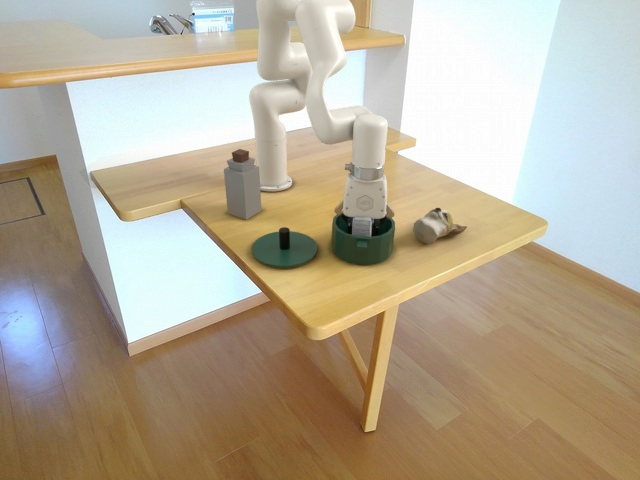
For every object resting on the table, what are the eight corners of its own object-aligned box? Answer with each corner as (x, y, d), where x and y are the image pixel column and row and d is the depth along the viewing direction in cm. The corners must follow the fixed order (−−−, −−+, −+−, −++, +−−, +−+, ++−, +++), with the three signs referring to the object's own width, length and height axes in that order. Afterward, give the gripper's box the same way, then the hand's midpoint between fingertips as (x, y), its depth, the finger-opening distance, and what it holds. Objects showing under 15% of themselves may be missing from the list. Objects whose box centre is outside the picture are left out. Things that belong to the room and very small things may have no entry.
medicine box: (369, 251, 116) (371, 220, 112) (350, 249, 117) (352, 218, 112) (372, 235, 123) (375, 205, 118) (355, 233, 124) (357, 203, 119)
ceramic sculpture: (405, 207, 121) (440, 193, 130) (400, 236, 125) (434, 222, 134) (439, 223, 114) (474, 208, 124) (433, 254, 119) (466, 237, 128)
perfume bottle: (246, 219, 133) (241, 158, 123) (227, 213, 136) (222, 153, 126) (261, 210, 137) (258, 150, 128) (243, 204, 141) (238, 145, 131)
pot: (327, 269, 113) (328, 241, 109) (335, 226, 130) (336, 201, 126) (392, 274, 111) (396, 246, 107) (391, 230, 129) (394, 205, 125)
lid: (244, 267, 113) (243, 244, 110) (260, 232, 127) (258, 212, 123) (313, 272, 111) (313, 250, 108) (320, 237, 125) (321, 216, 122)
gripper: (329, 174, 107) (327, 243, 117) (405, 179, 106) (397, 248, 115) (332, 162, 114) (329, 228, 123) (404, 166, 112) (396, 233, 122)
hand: (362, 237), depth 119 cm, fingers closed on medicine box, 4 cm apart
